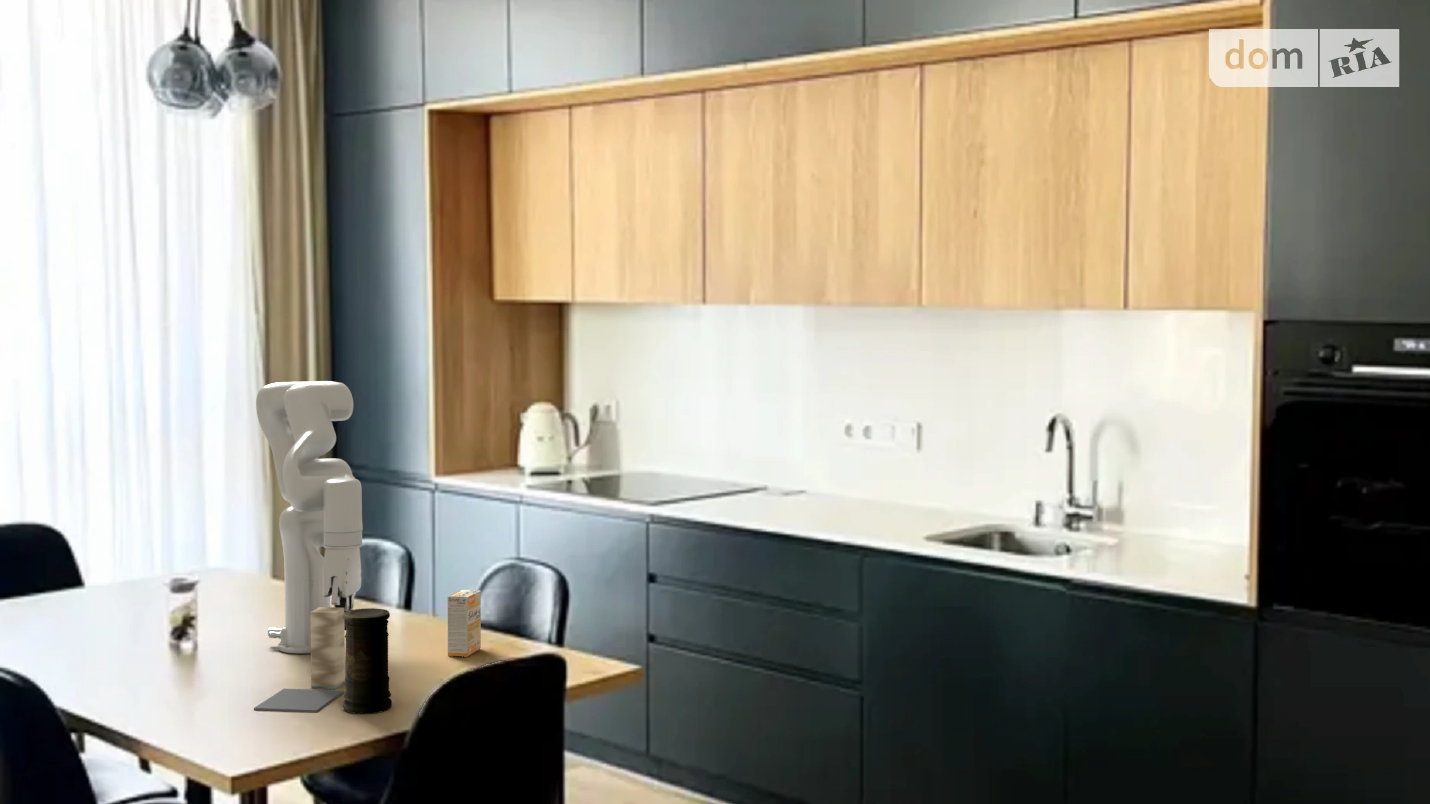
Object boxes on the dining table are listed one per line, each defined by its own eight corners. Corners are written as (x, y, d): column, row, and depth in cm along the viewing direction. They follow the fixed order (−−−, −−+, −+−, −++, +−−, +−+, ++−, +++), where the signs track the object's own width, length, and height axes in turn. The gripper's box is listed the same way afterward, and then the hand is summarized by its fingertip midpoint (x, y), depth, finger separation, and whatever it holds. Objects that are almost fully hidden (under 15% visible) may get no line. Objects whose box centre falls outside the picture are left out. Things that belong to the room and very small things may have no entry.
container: (346, 701, 279) (345, 607, 278) (394, 701, 280) (394, 606, 279) (338, 715, 270) (337, 617, 269) (388, 714, 271) (387, 616, 270)
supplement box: (468, 657, 314) (468, 596, 314) (447, 656, 315) (446, 595, 315) (482, 649, 322) (481, 589, 322) (461, 647, 323) (460, 588, 323)
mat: (253, 710, 273) (253, 707, 273) (284, 690, 287) (283, 688, 287) (316, 712, 272) (316, 710, 272) (343, 692, 286) (343, 690, 286)
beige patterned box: (311, 688, 289) (310, 612, 288) (320, 681, 294) (319, 607, 293) (336, 688, 288) (335, 612, 288) (345, 682, 293) (344, 607, 292)
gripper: (338, 533, 306) (339, 621, 307) (311, 545, 291) (312, 637, 292) (373, 534, 305) (374, 622, 306) (347, 545, 291) (349, 638, 292)
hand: (344, 629), depth 299 cm, fingers closed
